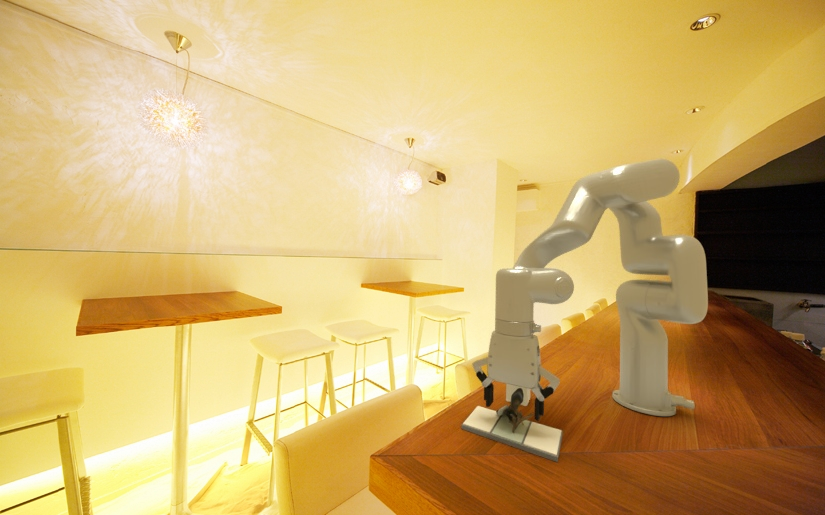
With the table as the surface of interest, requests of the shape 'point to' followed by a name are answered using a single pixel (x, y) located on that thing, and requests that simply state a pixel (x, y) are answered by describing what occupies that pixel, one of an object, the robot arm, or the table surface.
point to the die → (512, 388)
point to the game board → (515, 433)
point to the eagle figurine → (514, 410)
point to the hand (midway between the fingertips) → (512, 410)
